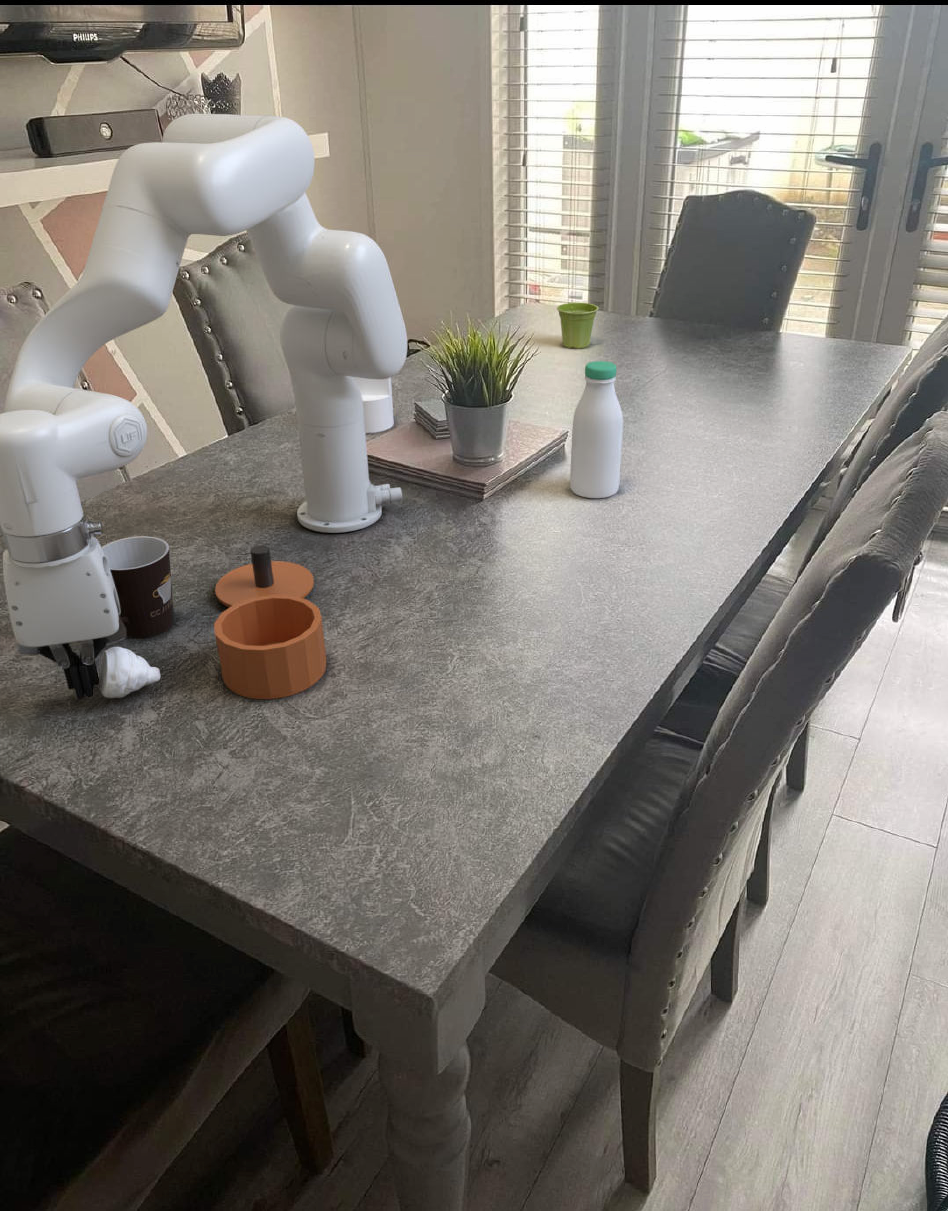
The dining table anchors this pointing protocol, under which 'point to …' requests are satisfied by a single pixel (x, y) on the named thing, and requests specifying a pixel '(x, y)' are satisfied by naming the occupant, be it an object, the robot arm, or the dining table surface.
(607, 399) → the milk bottle
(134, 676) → the white whipped cream swirl
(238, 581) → the pot lid
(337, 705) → the dining table surface
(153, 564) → the coffee mug
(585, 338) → the plant pot
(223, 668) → the pot
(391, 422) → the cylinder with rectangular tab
